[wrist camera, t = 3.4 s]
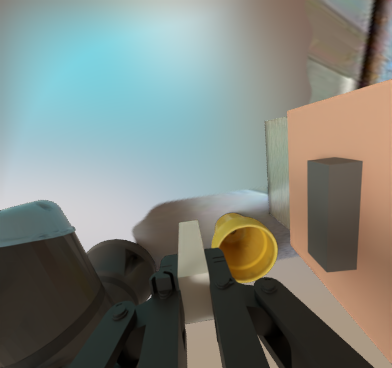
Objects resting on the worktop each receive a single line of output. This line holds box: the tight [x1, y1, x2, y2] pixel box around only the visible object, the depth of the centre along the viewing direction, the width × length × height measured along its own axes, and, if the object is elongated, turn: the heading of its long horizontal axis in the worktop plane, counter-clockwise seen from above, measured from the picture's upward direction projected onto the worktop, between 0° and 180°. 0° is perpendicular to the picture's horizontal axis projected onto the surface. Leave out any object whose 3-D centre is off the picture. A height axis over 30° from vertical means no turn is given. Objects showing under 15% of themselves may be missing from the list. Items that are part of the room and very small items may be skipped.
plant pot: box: [211, 213, 278, 283], centre depth 36 cm, size 10×10×10 cm
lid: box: [287, 79, 392, 363], centre depth 18 cm, size 19×19×4 cm
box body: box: [265, 117, 290, 230], centre depth 34 cm, size 18×18×11 cm
